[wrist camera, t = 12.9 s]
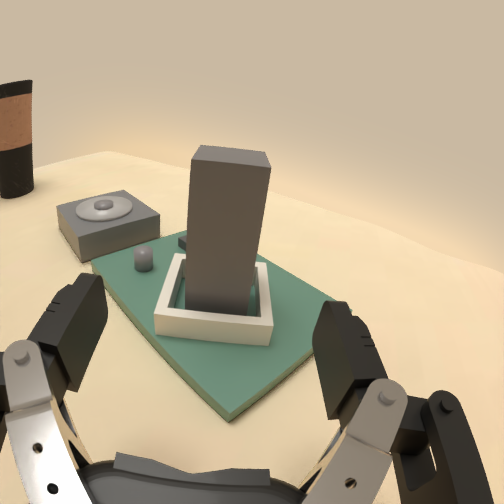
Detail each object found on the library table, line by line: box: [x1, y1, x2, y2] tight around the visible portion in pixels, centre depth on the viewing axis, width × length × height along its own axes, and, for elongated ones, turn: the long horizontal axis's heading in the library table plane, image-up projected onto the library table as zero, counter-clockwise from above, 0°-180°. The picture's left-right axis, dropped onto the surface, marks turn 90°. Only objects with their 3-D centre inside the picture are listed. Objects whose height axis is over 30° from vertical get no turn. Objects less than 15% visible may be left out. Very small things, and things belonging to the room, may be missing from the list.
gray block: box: [185, 145, 271, 316], centre depth 22 cm, size 4×5×12 cm
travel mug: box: [0, 80, 34, 198], centre depth 38 cm, size 8×8×20 cm
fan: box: [56, 190, 160, 263], centre depth 34 cm, size 10×10×4 cm
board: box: [91, 230, 352, 422], centre depth 26 cm, size 20×15×3 cm
